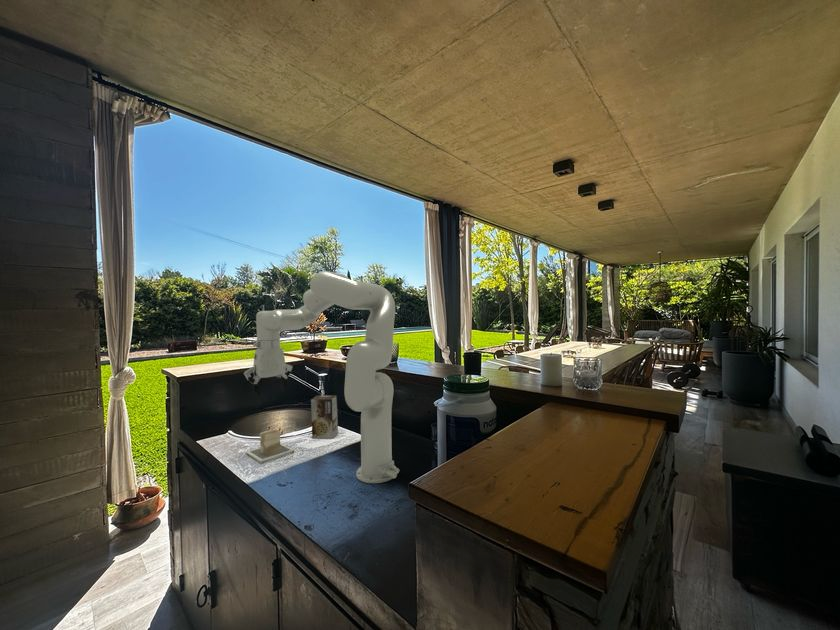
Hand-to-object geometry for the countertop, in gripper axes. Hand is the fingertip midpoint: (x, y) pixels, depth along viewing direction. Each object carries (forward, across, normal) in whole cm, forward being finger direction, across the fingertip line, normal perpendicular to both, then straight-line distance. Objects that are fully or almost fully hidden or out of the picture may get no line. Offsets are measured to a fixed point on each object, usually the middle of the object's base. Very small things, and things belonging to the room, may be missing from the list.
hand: (270, 392), depth 124 cm
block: (+22, 0, +1) cm, 22 cm away
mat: (+22, 0, +1) cm, 22 cm away
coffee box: (+23, +23, +1) cm, 32 cm away
